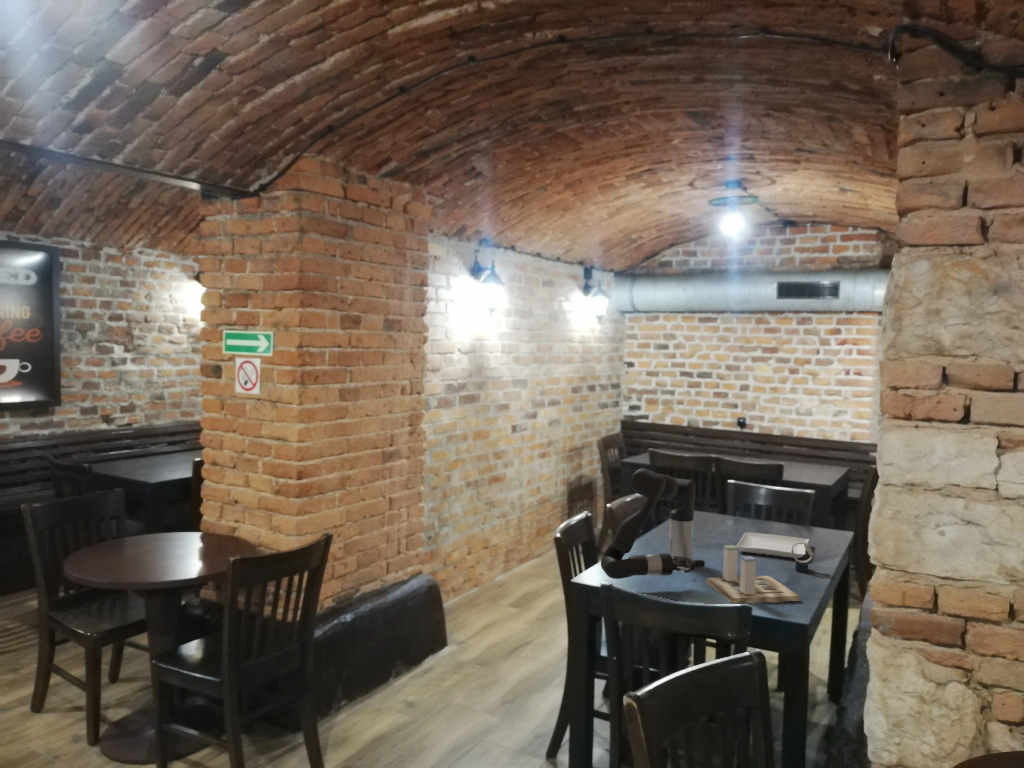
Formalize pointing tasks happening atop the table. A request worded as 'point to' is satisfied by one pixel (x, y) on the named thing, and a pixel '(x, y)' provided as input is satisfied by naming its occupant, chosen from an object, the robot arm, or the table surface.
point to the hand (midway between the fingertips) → (703, 563)
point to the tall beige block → (730, 563)
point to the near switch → (747, 575)
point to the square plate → (772, 545)
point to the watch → (801, 564)
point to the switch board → (764, 590)
